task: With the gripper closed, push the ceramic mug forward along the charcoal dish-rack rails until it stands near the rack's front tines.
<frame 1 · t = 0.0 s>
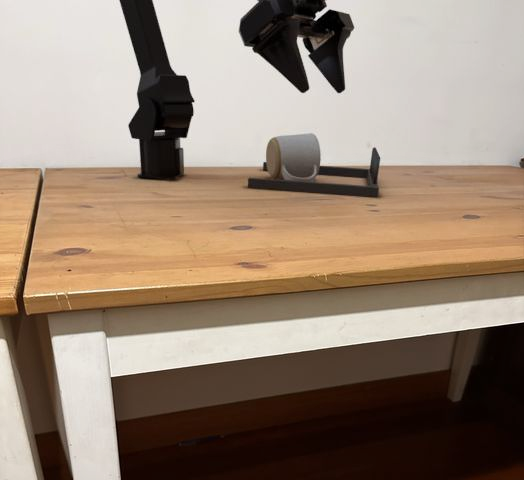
hand: (324, 91, 68), 15 cm above the table, tool tilted 35°, fingers open, 9 cm apart
dish rack: (311, 181, 93), on the table
ceramic mug: (295, 181, 93), on the table
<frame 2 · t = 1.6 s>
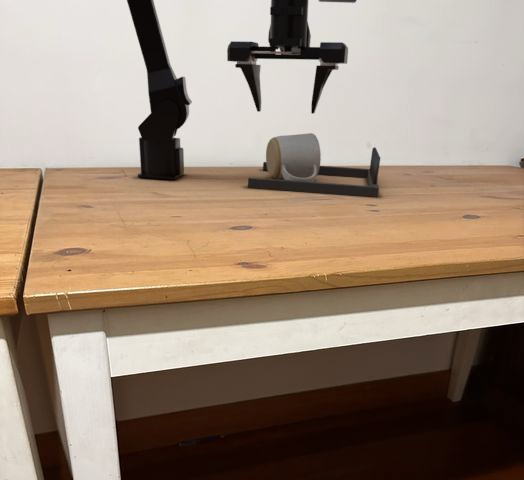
hand: (285, 112, 87), 11 cm above the table, tool pointing down, fingers open, 9 cm apart
nothing on the table moved.
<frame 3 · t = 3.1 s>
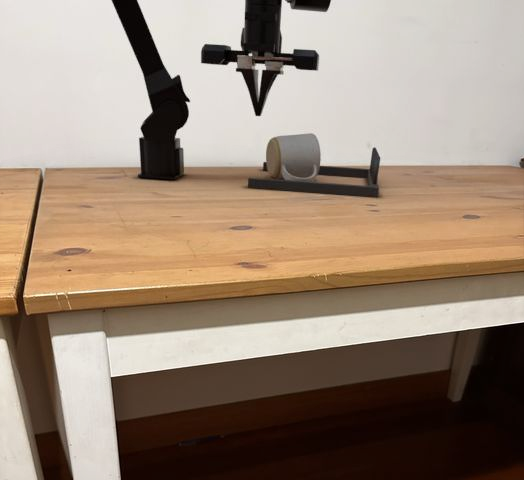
hand: (258, 116, 89), 10 cm above the table, tool pointing down, fingers closed
nothing on the table moved.
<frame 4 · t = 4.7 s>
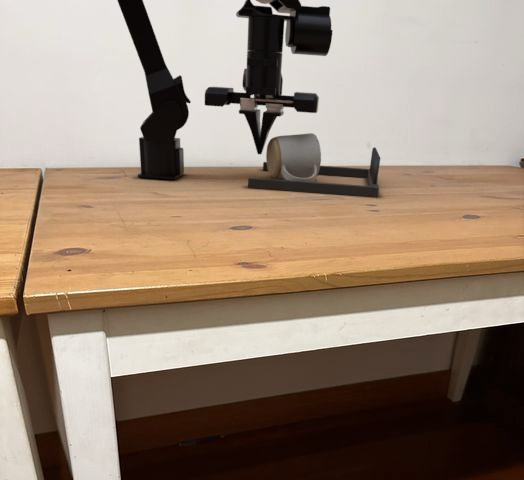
hand: (259, 154, 92), 4 cm above the table, tool pointing down, fingers closed
ceramic mug: (295, 181, 93), on the table, touching gripper
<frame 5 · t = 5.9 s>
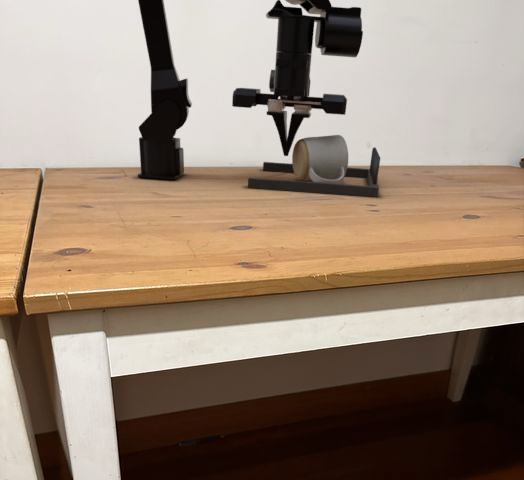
hand: (286, 155, 91), 4 cm above the table, tool pointing down, fingers closed
ceramic mug: (321, 183, 93), on the table, touching gripper
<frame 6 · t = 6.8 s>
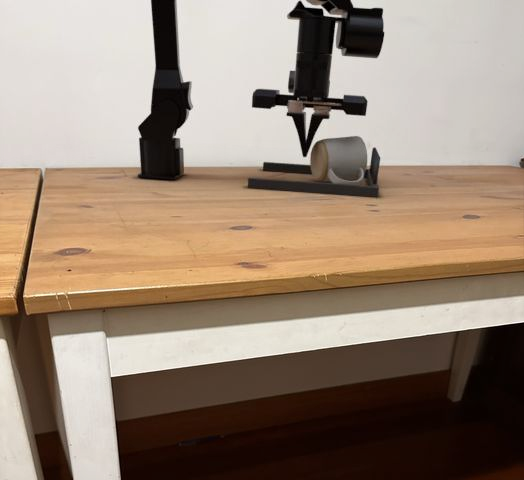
hand: (304, 156, 91), 4 cm above the table, tool pointing down, fingers closed
ceramic mug: (340, 184, 92), on the table, touching gripper
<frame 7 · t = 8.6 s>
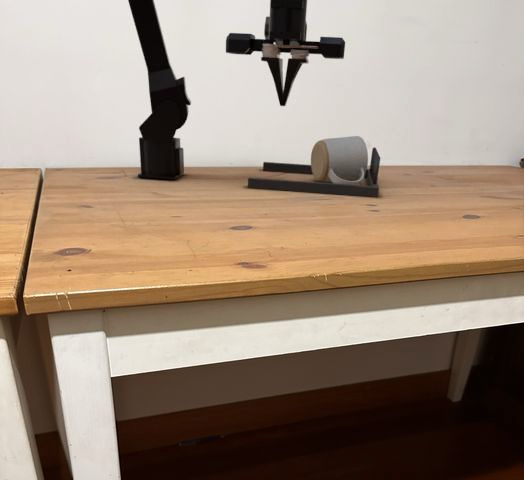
hand: (282, 105, 88), 12 cm above the table, tool pointing down, fingers closed
ceramic mug: (340, 184, 92), on the table
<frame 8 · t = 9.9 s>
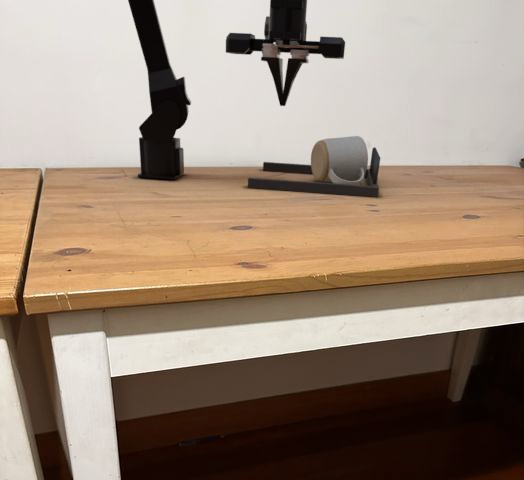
hand: (282, 105, 88), 12 cm above the table, tool pointing down, fingers closed
nothing on the table moved.
at the end: ceramic mug inside the target area (0.4 cm from its centre), on the table; ceramic mug tilted 1°; ceramic mug moved 8.1 cm from its start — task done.
